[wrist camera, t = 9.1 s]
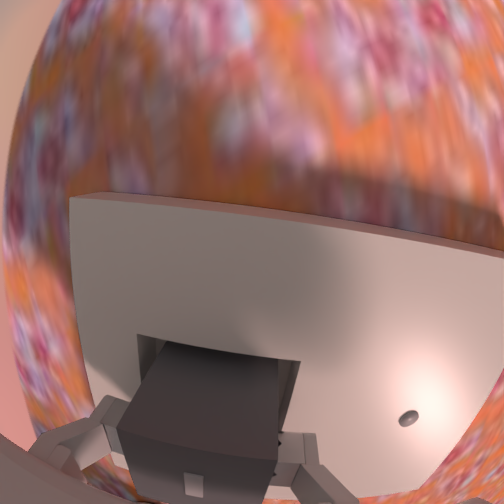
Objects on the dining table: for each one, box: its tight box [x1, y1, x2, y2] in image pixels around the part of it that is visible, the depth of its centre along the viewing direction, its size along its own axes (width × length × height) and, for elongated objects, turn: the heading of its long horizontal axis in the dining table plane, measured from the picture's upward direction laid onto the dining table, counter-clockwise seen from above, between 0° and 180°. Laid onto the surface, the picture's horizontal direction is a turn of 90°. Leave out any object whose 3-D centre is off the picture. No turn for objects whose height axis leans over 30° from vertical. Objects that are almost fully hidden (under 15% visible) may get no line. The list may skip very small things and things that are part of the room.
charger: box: [116, 340, 278, 504], centre depth 10 cm, size 5×5×6 cm
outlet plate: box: [69, 192, 504, 500], centre depth 12 cm, size 16×20×2 cm
